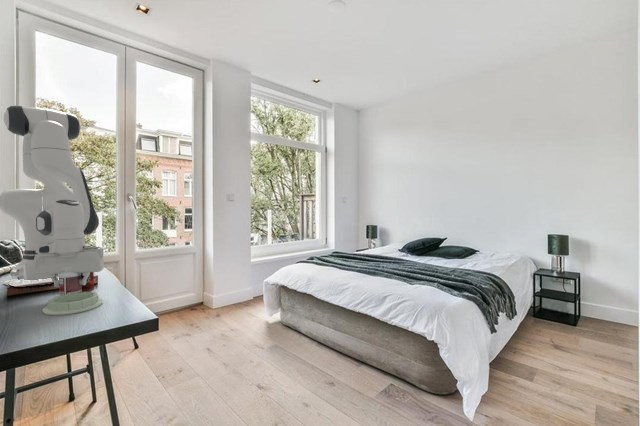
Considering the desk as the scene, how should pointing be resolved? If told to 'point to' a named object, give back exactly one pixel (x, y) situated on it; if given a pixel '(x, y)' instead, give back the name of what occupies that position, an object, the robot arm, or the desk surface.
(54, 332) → the desk surface
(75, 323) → the desk surface
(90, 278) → the deodorant
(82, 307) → the dish
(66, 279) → the pill bottle
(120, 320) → the desk surface
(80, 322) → the desk surface
